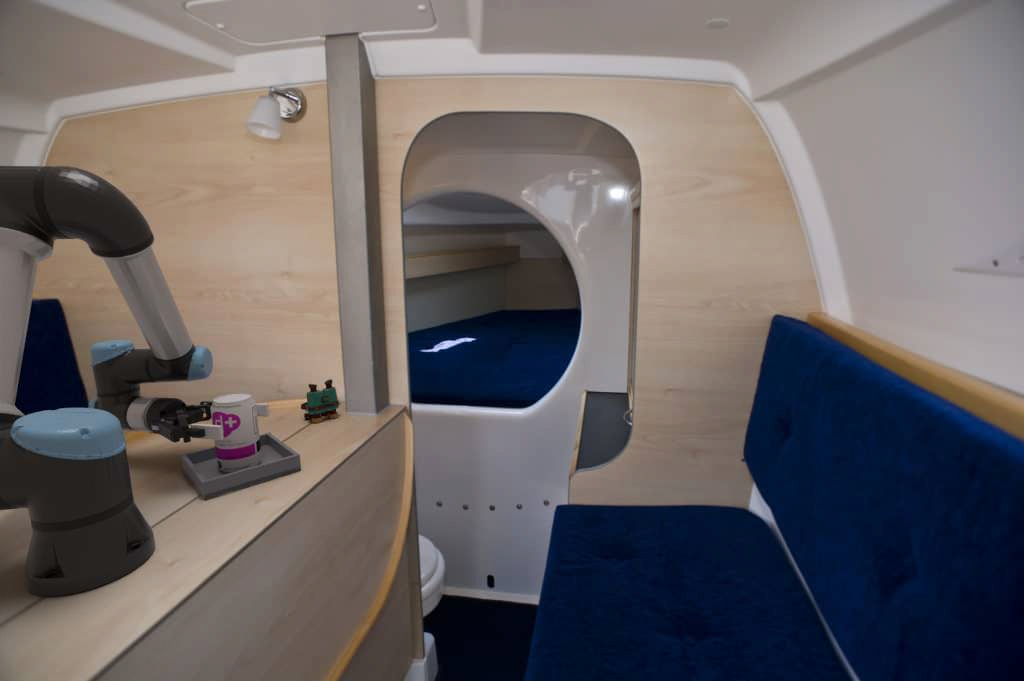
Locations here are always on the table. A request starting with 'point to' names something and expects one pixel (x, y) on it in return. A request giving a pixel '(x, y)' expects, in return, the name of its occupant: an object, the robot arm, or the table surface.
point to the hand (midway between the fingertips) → (246, 420)
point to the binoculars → (321, 402)
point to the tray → (217, 482)
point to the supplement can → (236, 432)
